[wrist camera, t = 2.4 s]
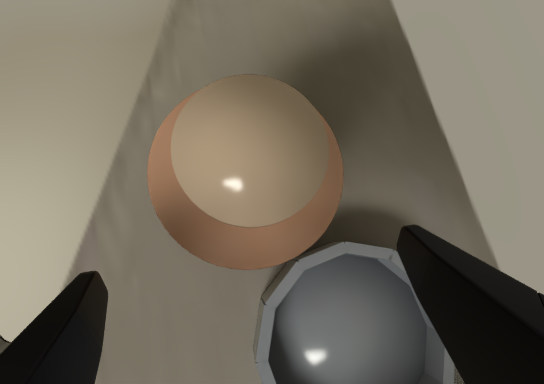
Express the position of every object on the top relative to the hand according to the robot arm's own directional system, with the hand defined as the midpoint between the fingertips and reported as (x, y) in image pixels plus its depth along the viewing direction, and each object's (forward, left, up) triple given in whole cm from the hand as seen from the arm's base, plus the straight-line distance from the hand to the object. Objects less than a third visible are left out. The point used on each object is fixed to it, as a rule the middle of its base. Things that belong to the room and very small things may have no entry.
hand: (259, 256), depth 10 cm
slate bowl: (-6, -4, -10) cm, 12 cm away
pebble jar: (+3, -1, -10) cm, 10 cm away
